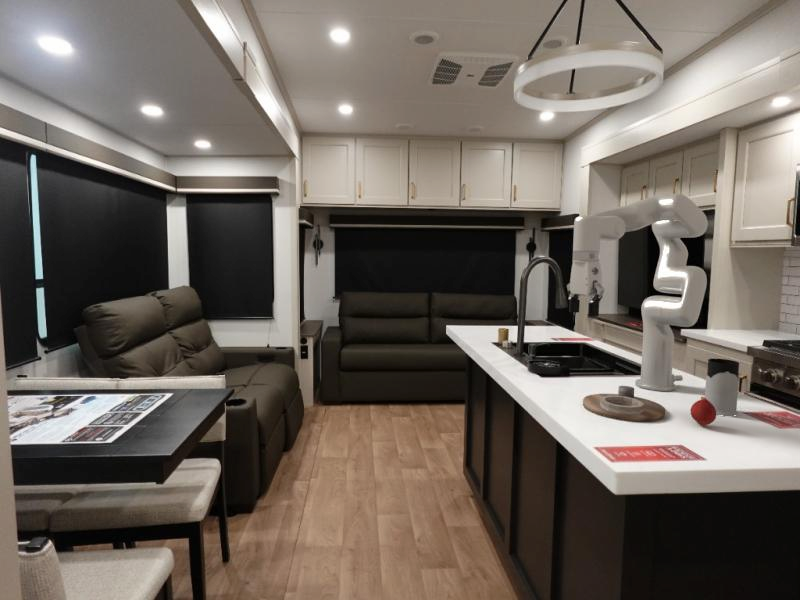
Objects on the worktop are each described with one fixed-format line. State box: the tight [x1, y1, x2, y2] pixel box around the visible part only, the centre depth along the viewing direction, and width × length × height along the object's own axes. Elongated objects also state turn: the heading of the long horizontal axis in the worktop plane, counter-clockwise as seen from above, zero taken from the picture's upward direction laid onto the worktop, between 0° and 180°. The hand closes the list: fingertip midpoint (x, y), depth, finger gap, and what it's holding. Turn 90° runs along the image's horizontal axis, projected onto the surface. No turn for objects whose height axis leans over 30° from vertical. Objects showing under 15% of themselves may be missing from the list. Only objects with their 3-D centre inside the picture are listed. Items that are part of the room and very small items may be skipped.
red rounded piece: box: [690, 396, 717, 427], centre depth 129 cm, size 6×6×8 cm
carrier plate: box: [582, 385, 667, 423], centre depth 142 cm, size 22×22×4 cm
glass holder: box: [704, 358, 740, 417], centre depth 143 cm, size 9×14×15 cm, turn 162°
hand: (583, 314), depth 146 cm, fingers open, 9 cm apart
